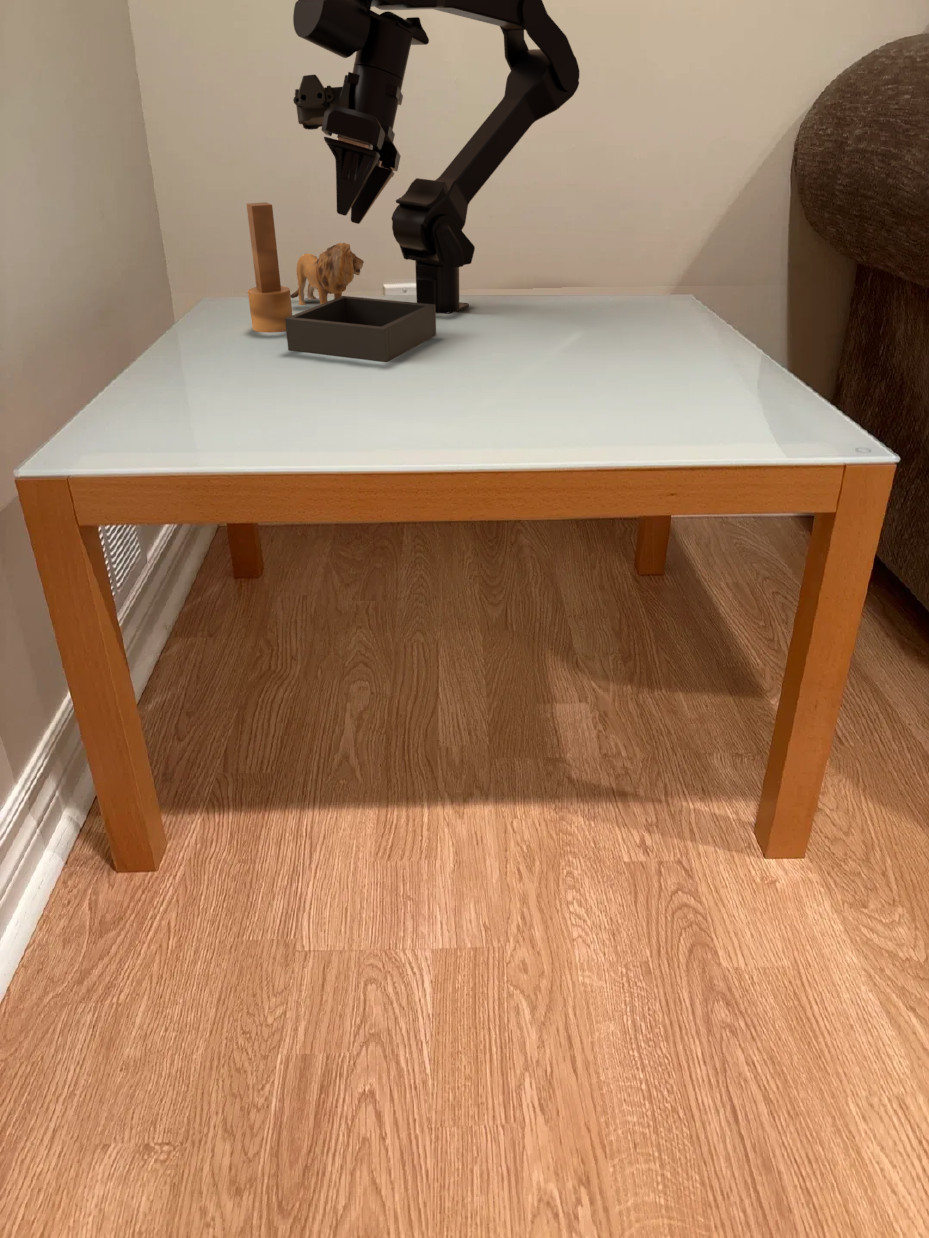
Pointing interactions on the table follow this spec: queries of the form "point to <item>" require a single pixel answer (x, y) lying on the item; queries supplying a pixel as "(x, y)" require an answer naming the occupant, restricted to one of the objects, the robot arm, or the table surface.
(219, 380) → the table surface
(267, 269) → the wooden peg stand
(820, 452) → the table surface
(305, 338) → the box
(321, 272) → the lion figurine
